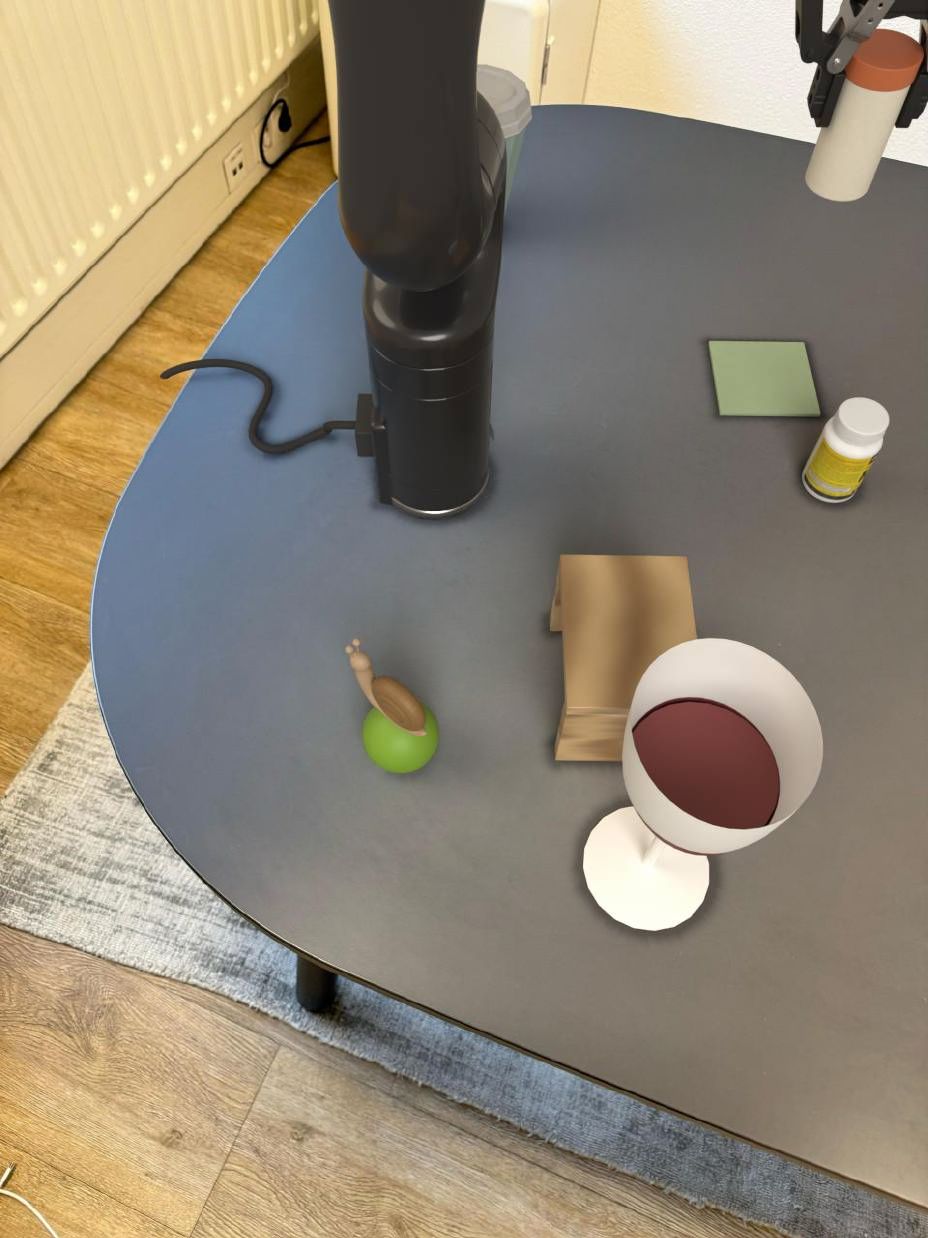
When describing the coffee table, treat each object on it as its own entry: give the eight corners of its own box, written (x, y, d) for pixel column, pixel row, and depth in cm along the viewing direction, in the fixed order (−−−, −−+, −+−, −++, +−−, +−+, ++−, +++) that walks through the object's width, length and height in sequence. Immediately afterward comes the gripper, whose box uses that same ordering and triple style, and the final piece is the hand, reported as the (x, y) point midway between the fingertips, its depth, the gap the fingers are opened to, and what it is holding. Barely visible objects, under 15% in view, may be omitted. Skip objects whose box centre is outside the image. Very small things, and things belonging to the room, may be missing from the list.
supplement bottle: (856, 508, 82) (895, 443, 75) (800, 499, 82) (833, 433, 75) (856, 465, 84) (894, 397, 77) (801, 456, 85) (833, 388, 78)
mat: (719, 415, 87) (720, 412, 87) (708, 343, 92) (709, 340, 91) (819, 416, 87) (820, 413, 87) (802, 344, 92) (804, 341, 91)
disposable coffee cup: (408, 204, 102) (401, 60, 89) (505, 185, 104) (512, 42, 91) (437, 269, 97) (434, 127, 84) (538, 248, 99) (551, 106, 86)
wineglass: (700, 794, 69) (798, 635, 49) (724, 938, 64) (844, 826, 44) (573, 798, 69) (619, 640, 49) (586, 943, 64) (645, 832, 44)
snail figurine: (389, 694, 73) (377, 612, 63) (454, 744, 71) (454, 669, 61) (339, 746, 71) (319, 670, 60) (406, 799, 69) (396, 730, 58)
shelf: (554, 760, 70) (567, 707, 63) (549, 618, 76) (560, 553, 69) (678, 762, 70) (706, 709, 63) (663, 620, 76) (687, 555, 69)
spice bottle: (808, 202, 67) (855, 68, 59) (798, 160, 69) (842, 27, 61) (876, 203, 67) (931, 70, 59) (863, 161, 69) (915, 28, 61)
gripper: (1094, -228, 51) (954, 88, 66) (822, -230, 51) (743, 86, 66) (1141, -164, 47) (981, 157, 62) (847, -166, 48) (757, 154, 62)
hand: (859, 119), depth 64 cm, fingers closed on spice bottle, 4 cm apart
